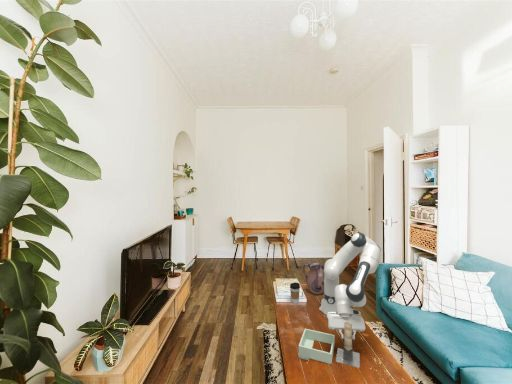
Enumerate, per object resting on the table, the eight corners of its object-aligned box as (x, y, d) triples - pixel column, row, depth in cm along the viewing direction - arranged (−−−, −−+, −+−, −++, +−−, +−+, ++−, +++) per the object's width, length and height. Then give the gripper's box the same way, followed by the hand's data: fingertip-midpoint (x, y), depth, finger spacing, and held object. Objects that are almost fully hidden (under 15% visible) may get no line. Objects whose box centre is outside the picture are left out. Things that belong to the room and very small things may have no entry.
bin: (305, 339, 155) (305, 328, 155) (334, 346, 148) (334, 335, 148) (298, 357, 139) (298, 345, 138) (331, 366, 132) (331, 354, 131)
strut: (343, 353, 140) (343, 320, 139) (352, 355, 138) (353, 322, 137) (343, 358, 135) (343, 325, 135) (352, 361, 133) (352, 327, 133)
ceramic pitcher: (327, 297, 212) (327, 268, 211) (302, 295, 216) (302, 267, 216) (325, 288, 229) (325, 262, 228) (302, 287, 234) (302, 261, 233)
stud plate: (337, 350, 145) (337, 340, 144) (359, 355, 140) (359, 345, 140) (335, 364, 134) (335, 353, 133) (359, 370, 129) (359, 359, 129)
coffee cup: (301, 303, 202) (301, 285, 201) (292, 304, 199) (292, 286, 199) (297, 298, 210) (297, 281, 209) (288, 300, 207) (288, 282, 207)
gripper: (327, 309, 144) (329, 336, 135) (363, 311, 141) (368, 338, 132) (325, 313, 149) (328, 338, 139) (360, 315, 146) (365, 341, 137)
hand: (348, 339), depth 136 cm, fingers closed on strut, 4 cm apart
